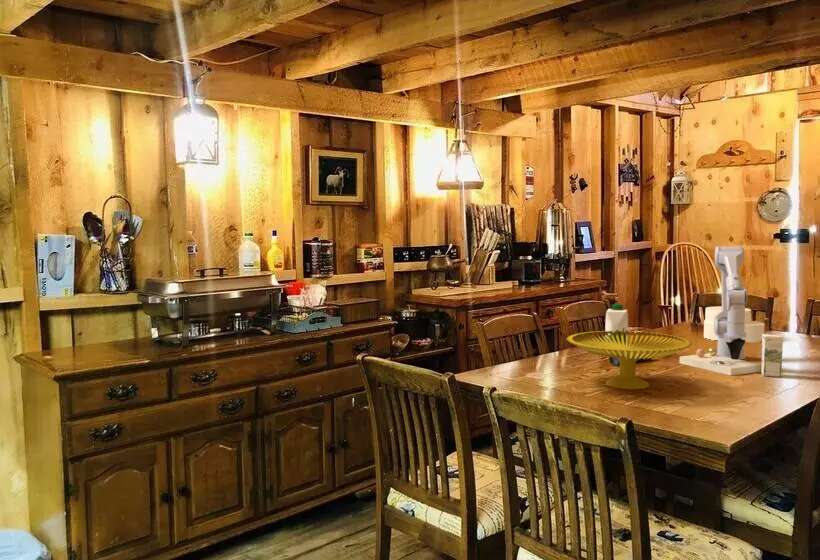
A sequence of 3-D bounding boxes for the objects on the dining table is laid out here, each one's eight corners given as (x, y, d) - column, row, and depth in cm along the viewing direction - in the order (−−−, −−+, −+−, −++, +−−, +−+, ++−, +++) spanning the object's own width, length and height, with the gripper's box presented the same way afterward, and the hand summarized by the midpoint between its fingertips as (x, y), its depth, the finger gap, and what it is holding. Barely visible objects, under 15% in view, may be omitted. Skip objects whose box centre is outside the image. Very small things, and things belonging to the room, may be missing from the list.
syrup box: (778, 374, 246) (780, 333, 245) (781, 377, 241) (783, 336, 240) (760, 373, 248) (762, 332, 247) (763, 376, 243) (764, 335, 241)
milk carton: (628, 352, 290) (629, 304, 288) (626, 356, 282) (627, 306, 280) (606, 351, 293) (607, 303, 292) (604, 354, 285) (604, 306, 283)
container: (761, 344, 304) (762, 313, 303) (700, 340, 317) (700, 310, 316) (765, 337, 321) (766, 308, 320) (707, 333, 334) (708, 305, 333)
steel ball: (722, 359, 253) (728, 365, 253) (717, 359, 256) (723, 364, 256) (717, 366, 252) (723, 372, 252) (712, 366, 255) (718, 371, 256)
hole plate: (708, 359, 273) (709, 353, 273) (761, 371, 251) (761, 364, 251) (679, 363, 267) (679, 356, 267) (730, 375, 245) (730, 368, 245)
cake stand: (678, 405, 207) (679, 355, 206) (548, 389, 228) (548, 344, 227) (702, 378, 241) (703, 335, 240) (587, 366, 262) (587, 327, 261)
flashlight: (608, 365, 266) (608, 352, 266) (644, 358, 277) (644, 346, 277) (619, 367, 262) (619, 354, 261) (655, 361, 273) (655, 348, 272)
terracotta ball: (700, 355, 268) (700, 347, 268) (707, 357, 265) (707, 349, 265) (694, 356, 267) (694, 348, 266) (700, 358, 264) (700, 349, 263)
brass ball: (712, 354, 270) (712, 346, 270) (718, 355, 267) (719, 347, 267) (706, 355, 269) (706, 347, 269) (712, 356, 266) (712, 348, 266)
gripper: (732, 319, 263) (731, 354, 264) (716, 323, 253) (715, 360, 254) (752, 321, 258) (751, 357, 259) (736, 325, 248) (735, 363, 249)
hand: (734, 359), depth 256 cm, fingers closed
